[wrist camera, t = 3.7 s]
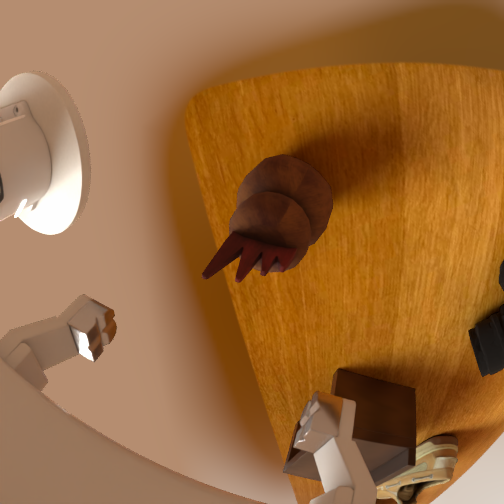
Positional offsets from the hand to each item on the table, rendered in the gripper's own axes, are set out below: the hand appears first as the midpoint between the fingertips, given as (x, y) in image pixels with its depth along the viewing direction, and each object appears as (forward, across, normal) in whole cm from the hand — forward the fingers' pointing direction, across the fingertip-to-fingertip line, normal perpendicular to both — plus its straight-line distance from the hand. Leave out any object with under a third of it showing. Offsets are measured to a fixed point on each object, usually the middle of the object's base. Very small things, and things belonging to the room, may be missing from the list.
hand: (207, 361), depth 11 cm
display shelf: (+20, -18, +30) cm, 40 cm away
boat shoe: (+20, -39, +46) cm, 63 cm away
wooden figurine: (+20, 0, 0) cm, 20 cm away
